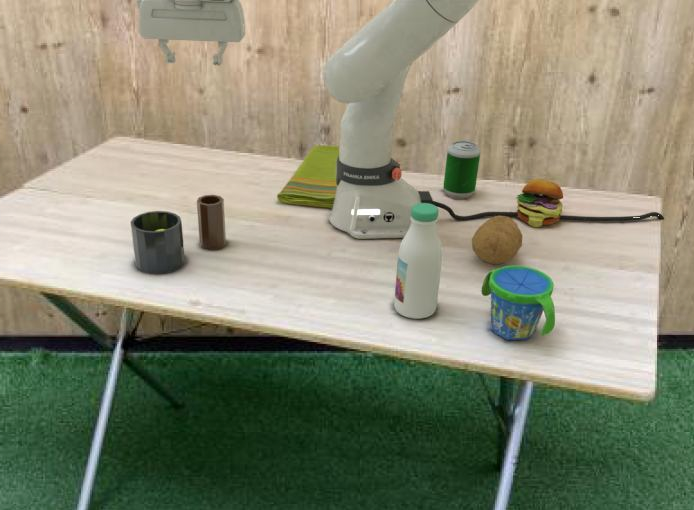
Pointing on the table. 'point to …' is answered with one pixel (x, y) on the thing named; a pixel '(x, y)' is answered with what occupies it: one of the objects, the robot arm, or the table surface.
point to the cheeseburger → (540, 203)
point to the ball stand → (211, 222)
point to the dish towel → (313, 179)
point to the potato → (497, 240)
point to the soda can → (461, 169)
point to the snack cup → (519, 301)
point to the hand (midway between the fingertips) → (194, 63)
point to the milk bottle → (419, 265)
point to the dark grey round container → (158, 242)
